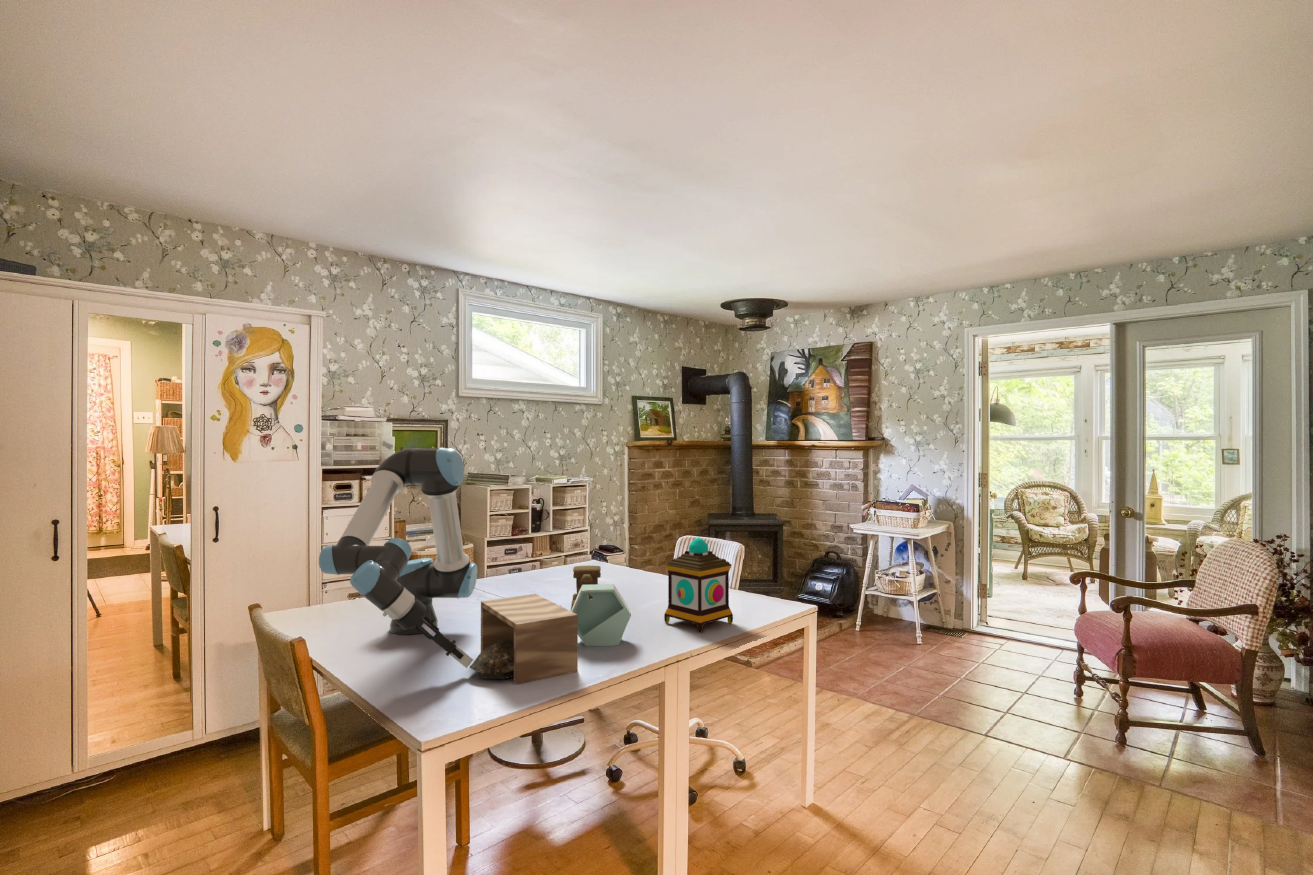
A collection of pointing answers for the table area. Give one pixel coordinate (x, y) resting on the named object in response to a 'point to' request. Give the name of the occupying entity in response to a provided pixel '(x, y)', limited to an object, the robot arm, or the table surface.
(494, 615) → the walnut shelf
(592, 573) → the wooden toy train
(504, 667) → the turtle shell
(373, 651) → the table surface
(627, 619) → the planter
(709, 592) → the decorative lantern
